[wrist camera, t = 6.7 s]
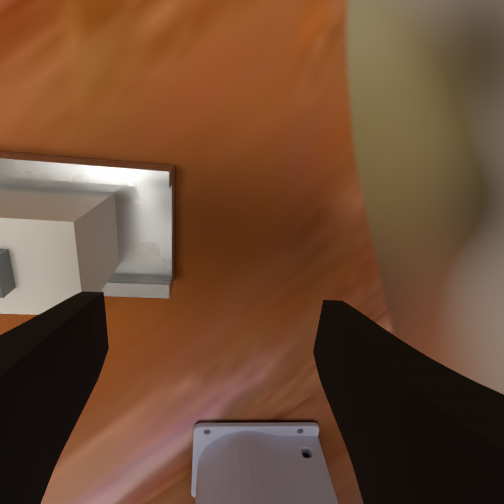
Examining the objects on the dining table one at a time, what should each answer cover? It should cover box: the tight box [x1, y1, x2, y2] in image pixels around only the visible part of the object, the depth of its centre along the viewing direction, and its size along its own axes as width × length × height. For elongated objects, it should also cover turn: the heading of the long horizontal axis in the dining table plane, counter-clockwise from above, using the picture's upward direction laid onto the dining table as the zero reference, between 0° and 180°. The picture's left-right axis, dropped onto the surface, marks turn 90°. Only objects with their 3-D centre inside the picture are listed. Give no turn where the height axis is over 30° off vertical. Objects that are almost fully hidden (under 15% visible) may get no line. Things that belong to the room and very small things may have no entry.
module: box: [0, 184, 119, 315], centre depth 14 cm, size 6×4×6 cm, turn 85°
